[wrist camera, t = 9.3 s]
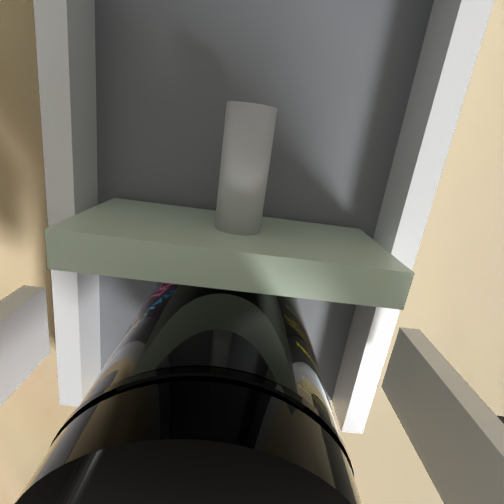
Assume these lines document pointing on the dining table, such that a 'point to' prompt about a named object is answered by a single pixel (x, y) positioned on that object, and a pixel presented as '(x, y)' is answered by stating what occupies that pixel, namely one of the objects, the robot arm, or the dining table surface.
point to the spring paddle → (231, 236)
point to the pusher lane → (283, 148)
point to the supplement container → (202, 411)
